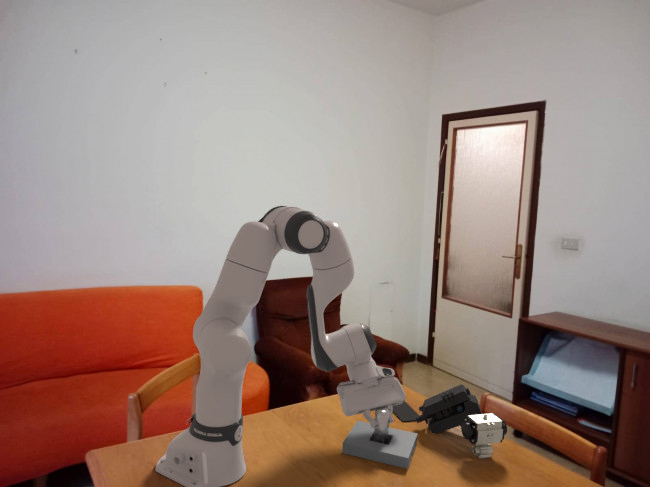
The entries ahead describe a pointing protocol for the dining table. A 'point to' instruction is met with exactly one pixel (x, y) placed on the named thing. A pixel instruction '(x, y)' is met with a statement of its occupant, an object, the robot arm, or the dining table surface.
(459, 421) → the tool
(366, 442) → the socket plate
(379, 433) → the steel pin
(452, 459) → the dining table surface
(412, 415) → the phone
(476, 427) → the pneumatic valve
